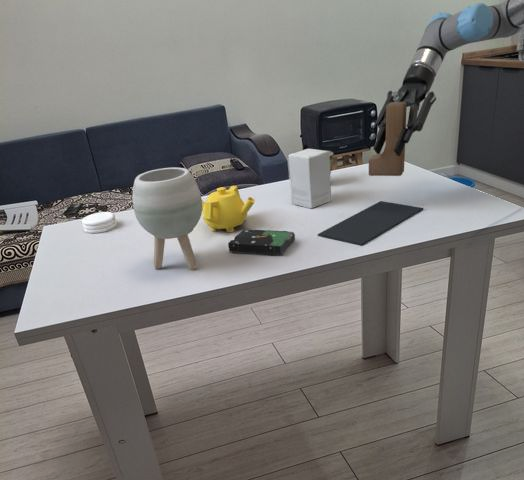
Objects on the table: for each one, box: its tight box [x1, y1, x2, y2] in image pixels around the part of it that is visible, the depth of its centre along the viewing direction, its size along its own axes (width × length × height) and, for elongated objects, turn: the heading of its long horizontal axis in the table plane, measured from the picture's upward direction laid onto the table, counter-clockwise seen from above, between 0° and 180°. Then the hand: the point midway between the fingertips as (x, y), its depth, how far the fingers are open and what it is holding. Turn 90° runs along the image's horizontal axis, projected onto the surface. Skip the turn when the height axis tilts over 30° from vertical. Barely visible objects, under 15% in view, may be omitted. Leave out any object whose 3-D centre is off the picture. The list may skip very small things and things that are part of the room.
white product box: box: [288, 148, 332, 209], centre depth 162 cm, size 9×9×15 cm
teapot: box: [202, 185, 255, 233], centre depth 152 cm, size 20×18×11 cm
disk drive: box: [227, 228, 296, 256], centre depth 139 cm, size 10×3×15 cm
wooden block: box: [368, 102, 408, 177], centre depth 144 cm, size 9×4×18 cm, turn 67°
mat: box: [317, 200, 424, 247], centre depth 146 cm, size 14×30×1 cm, turn 137°
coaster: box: [81, 211, 118, 234], centre depth 165 cm, size 10×10×4 cm
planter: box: [132, 167, 203, 271], centre depth 130 cm, size 16×16×22 cm
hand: (386, 151), depth 142 cm, fingers closed on wooden block, 5 cm apart
